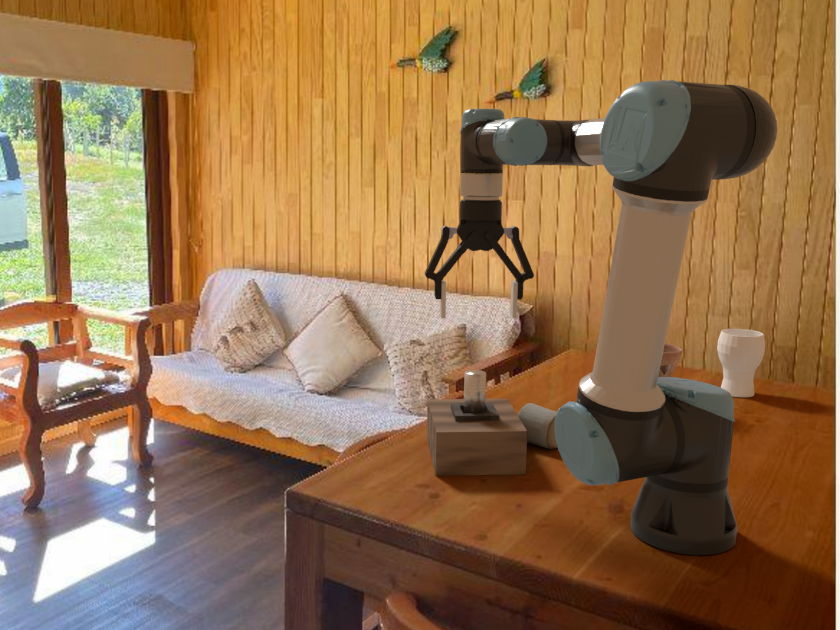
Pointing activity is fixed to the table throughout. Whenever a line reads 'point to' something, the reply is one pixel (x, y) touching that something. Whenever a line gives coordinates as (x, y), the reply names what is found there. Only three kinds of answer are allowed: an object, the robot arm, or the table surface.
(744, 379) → the cup
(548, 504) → the table surface
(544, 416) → the ceramic mug
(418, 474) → the table surface
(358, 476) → the table surface
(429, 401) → the socket block
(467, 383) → the peg
